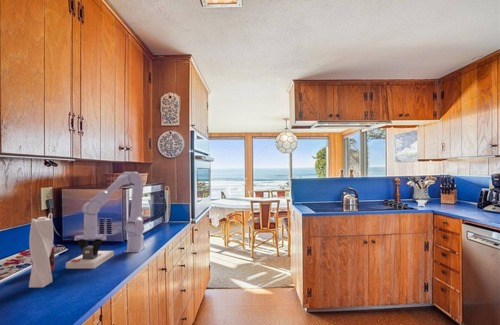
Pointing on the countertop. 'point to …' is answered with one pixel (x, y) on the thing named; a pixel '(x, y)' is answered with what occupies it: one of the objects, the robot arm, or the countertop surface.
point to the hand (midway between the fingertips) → (90, 254)
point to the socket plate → (89, 260)
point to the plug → (88, 253)
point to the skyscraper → (41, 251)
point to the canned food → (51, 257)
